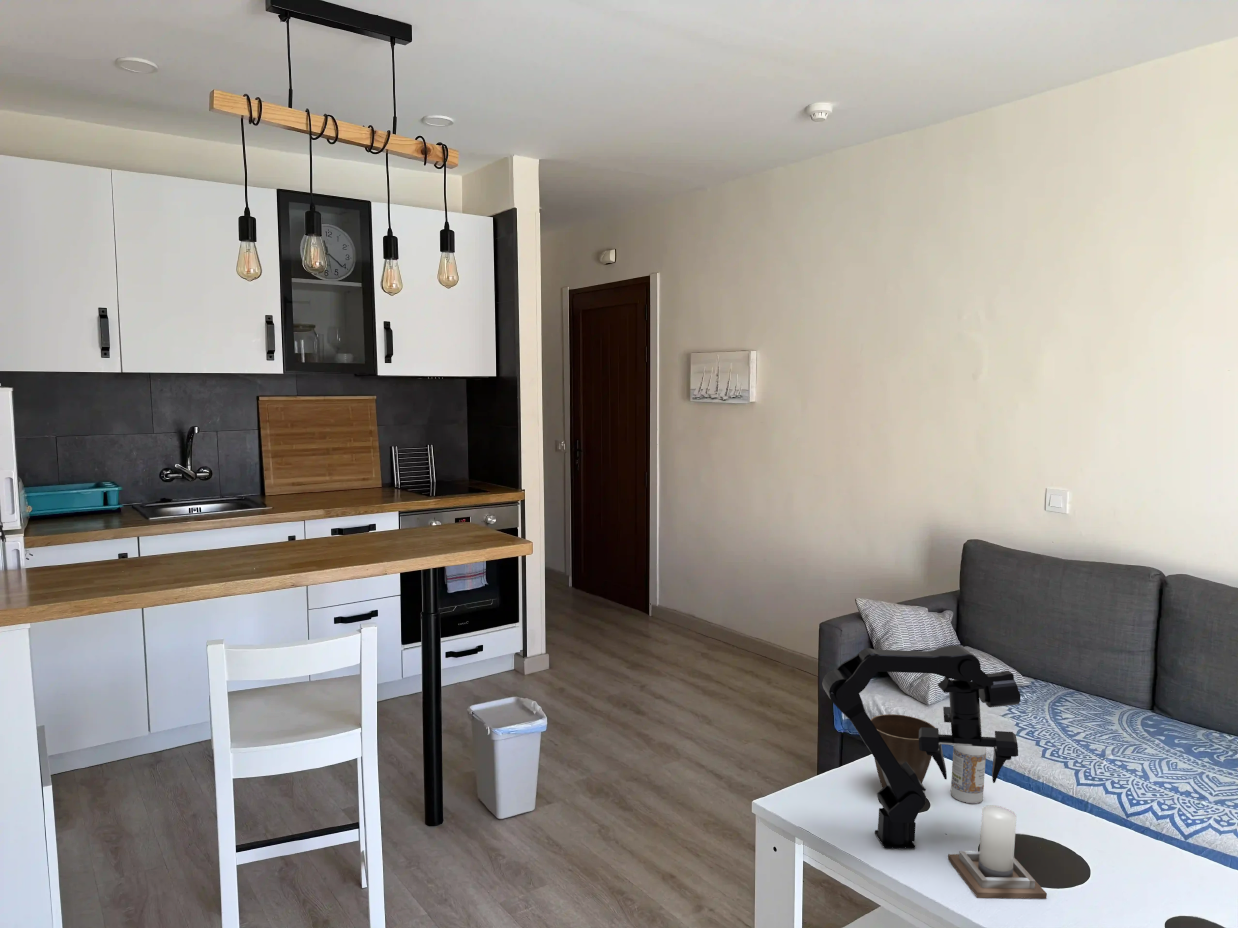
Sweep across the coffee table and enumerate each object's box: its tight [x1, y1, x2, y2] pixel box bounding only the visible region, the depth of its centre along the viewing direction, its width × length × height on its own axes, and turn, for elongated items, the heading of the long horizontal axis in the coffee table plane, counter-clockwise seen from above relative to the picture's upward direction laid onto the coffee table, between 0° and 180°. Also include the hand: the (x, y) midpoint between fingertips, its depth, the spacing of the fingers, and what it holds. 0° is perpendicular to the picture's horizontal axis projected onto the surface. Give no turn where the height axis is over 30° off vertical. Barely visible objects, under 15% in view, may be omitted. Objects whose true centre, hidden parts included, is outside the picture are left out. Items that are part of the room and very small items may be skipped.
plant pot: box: [870, 713, 936, 789], centre depth 195 cm, size 15×15×16 cm
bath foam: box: [950, 745, 987, 804], centre depth 193 cm, size 7×7×20 cm
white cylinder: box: [978, 805, 1017, 878], centre depth 161 cm, size 6×6×12 cm
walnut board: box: [947, 850, 1048, 900], centre depth 161 cm, size 13×13×2 cm
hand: (969, 779), depth 173 cm, fingers open, 9 cm apart
